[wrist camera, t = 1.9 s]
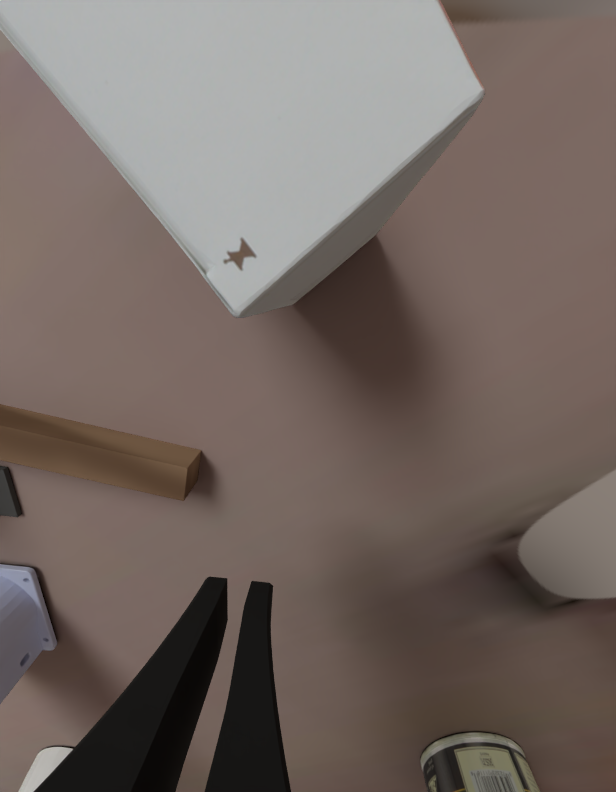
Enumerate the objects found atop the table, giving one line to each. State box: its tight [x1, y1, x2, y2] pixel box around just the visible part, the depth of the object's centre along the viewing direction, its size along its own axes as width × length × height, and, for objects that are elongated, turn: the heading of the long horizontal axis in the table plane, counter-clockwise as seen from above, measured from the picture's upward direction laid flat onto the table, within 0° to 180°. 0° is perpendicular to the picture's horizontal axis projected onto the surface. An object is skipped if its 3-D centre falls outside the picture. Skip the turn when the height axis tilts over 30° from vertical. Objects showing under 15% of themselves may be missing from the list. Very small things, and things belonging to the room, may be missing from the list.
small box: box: [0, 0, 485, 318], centre depth 9 cm, size 8×6×10 cm
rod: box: [0, 404, 201, 501], centre depth 18 cm, size 2×18×2 cm, turn 76°
